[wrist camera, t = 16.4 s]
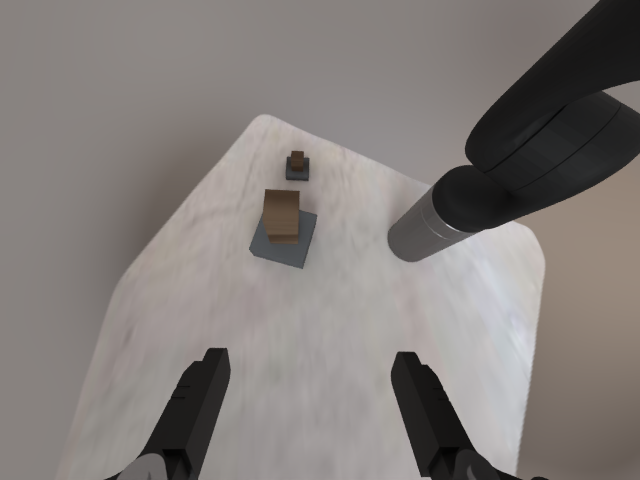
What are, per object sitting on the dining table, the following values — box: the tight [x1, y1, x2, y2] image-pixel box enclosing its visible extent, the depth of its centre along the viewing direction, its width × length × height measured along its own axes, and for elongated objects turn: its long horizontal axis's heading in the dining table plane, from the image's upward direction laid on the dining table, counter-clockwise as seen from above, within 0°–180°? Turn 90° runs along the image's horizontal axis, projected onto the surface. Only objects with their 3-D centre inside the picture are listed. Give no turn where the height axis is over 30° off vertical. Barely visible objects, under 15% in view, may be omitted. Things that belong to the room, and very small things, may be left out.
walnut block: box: [262, 189, 300, 244], centre depth 37 cm, size 5×5×10 cm
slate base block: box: [249, 210, 317, 269], centre depth 45 cm, size 10×10×5 cm
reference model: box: [286, 151, 309, 181], centre depth 50 cm, size 5×5×5 cm
